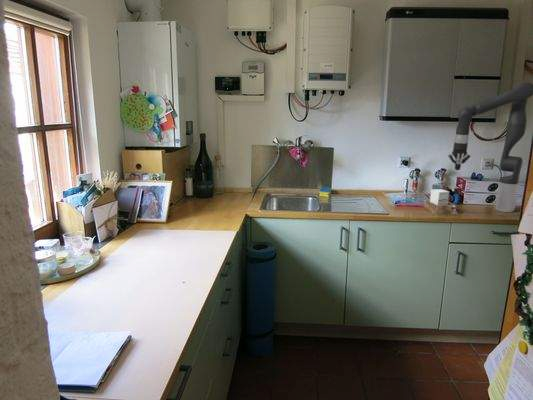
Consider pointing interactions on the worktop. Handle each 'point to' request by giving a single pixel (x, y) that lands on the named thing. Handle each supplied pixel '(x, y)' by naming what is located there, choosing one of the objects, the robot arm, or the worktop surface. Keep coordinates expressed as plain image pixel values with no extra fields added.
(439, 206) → the keeper
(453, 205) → the latch bar
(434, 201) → the supplement box
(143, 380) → the worktop surface
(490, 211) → the worktop surface
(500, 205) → the robot arm
